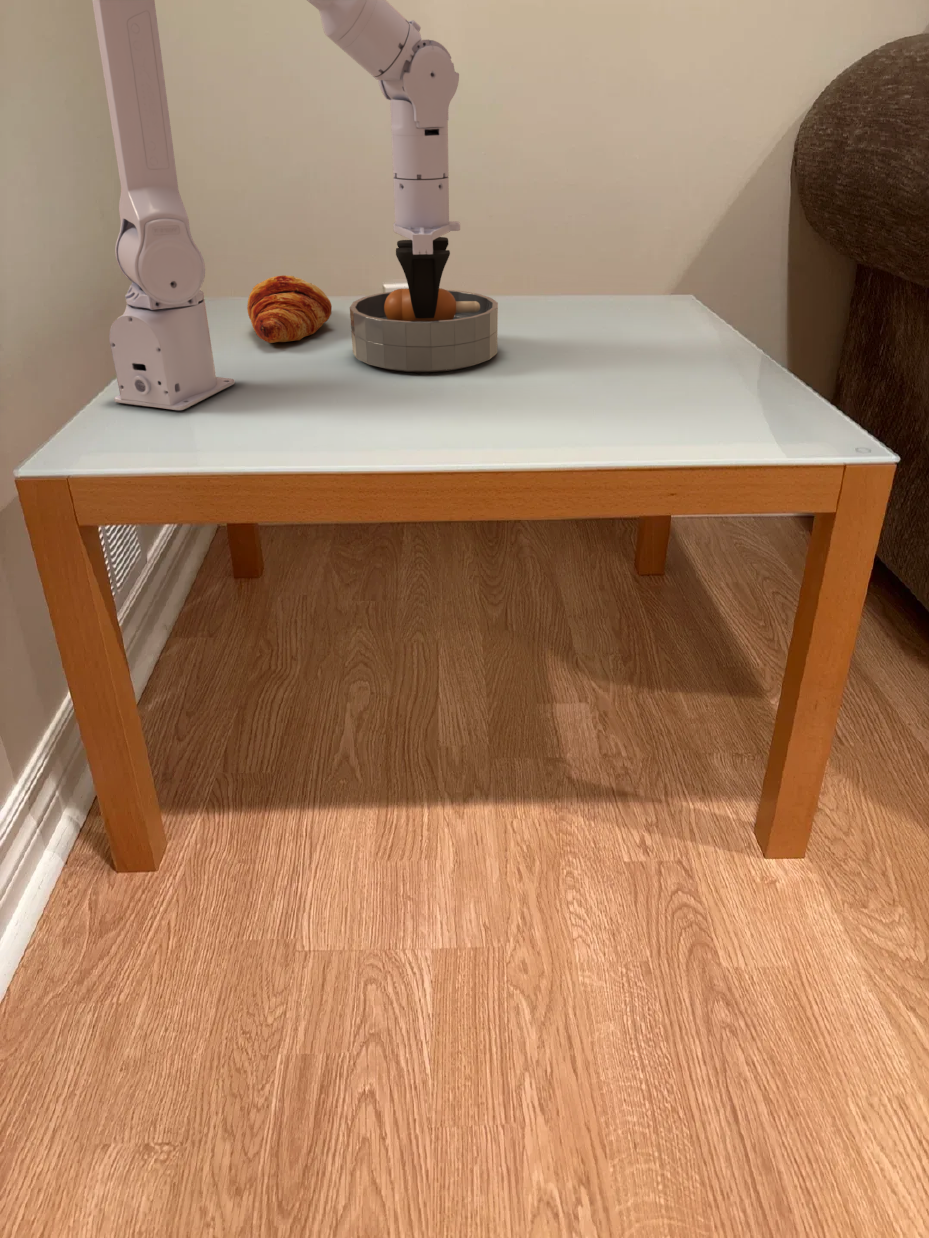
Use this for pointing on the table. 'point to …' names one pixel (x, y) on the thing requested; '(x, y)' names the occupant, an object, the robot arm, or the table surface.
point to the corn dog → (446, 309)
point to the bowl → (424, 336)
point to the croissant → (287, 309)
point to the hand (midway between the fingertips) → (424, 312)
